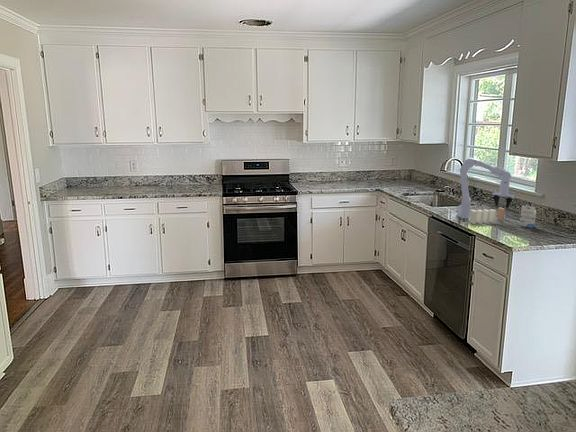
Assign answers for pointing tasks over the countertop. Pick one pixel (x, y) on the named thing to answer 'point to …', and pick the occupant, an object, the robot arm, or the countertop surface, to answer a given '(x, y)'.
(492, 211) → the cream domino
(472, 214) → the cream domino
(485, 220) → the cream domino
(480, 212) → the cream domino
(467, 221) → the mat
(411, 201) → the countertop surface
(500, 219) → the terracotta domino
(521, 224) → the ink box
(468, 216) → the robot arm
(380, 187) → the countertop surface
